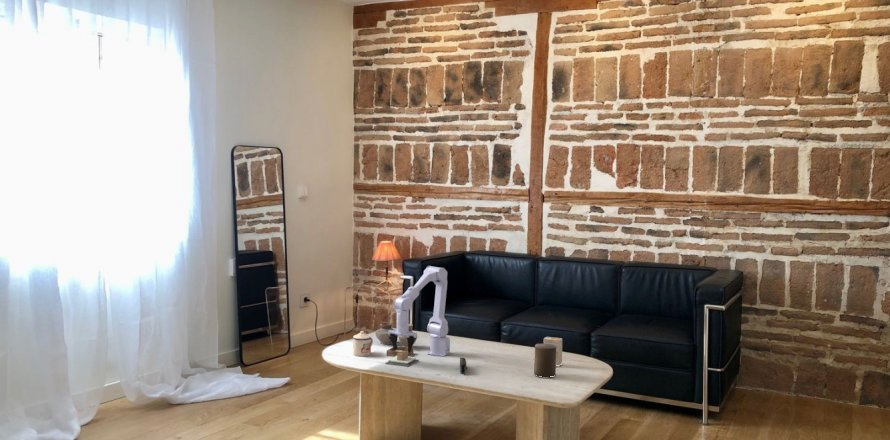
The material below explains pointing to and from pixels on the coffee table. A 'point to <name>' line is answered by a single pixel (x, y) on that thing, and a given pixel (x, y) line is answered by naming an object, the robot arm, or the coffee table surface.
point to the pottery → (384, 337)
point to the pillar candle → (545, 360)
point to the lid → (402, 358)
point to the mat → (402, 364)
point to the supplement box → (558, 344)
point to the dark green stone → (462, 365)
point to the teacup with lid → (362, 344)
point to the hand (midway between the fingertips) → (402, 350)
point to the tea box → (398, 351)
